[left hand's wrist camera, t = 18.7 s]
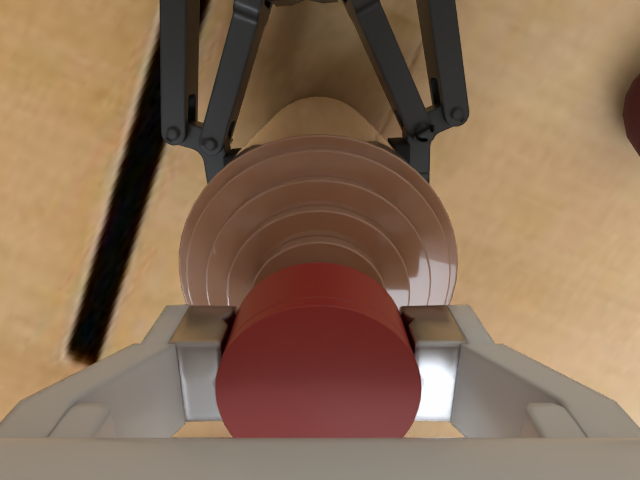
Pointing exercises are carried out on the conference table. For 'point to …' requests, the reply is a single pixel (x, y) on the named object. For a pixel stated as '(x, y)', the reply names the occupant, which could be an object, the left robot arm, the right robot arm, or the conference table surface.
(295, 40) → the conference table surface
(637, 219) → the conference table surface
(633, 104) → the dark maroon ball
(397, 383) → the cap
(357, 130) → the bottle
